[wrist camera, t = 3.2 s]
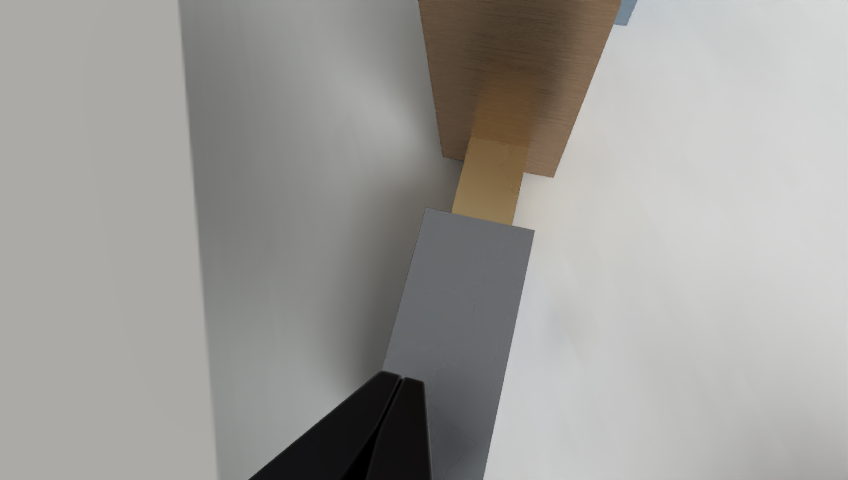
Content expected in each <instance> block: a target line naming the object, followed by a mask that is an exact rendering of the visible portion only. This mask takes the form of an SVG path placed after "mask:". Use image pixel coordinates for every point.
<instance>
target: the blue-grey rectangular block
mask: <svg viewBox="0 0 848 480" xmlns="http://www.w3.org/2000/svg"><path fill="white" fill-rule="evenodd" d="M636 2H637V0H621V5H620V8H619V11H618V13H617V16H616V18H615V21H614V23H613V24H619V25H627V23H628V21H629V18H630V16H631V14H632V11H633V9H634V7H635V5H636Z"/></svg>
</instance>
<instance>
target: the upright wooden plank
mask: <svg viewBox="0 0 848 480" xmlns="http://www.w3.org/2000/svg"><path fill="white" fill-rule="evenodd" d="M418 2H419V8H420V15H421V21H422V27H423V34H424V40H425V46H426V53H427V59H428V66H429V72H430V78H431V85H432V91H433V97H434V104H435V110H436V116H437V123H438V129H439V136H440V142H441V148H442V155H443V157H446V158H452V159H457V160H462V161H464V164H463V168H462V172H461V176H460V180H459V183H458V187H457V191H456V195H455V199H454V203H453V207H452V211H451V213H454V214H459V215H464V216H469V217H473V218H478V219H483V220H488V221H492V222H497V223H502V224H507V225H511V226H512V222H513V217H514V213H515V208H516V204H517V199H518V195H519V190H520V186H521V181H522V177H523V172H525V173H531V174H536V175H541V176H546V177H552V178H553V177H554V175H555V172H556V170H557V167H558V164H559V162H560V159H561V157H562V154H563V152H564V149H565V146H566V144H567V141H568V139H569V136H570V134H571V131H572V128H573V126H574V123H575V121H576V118H577V116H578V113H579V111H580V108H581V105H582V103H583V100H584V98H585V95H586V93H587V90H588V87H589V85H590V82H591V80H592V77H593V75H594V72H595V70H596V67H597V64H598V62H599V59H600V57H601V54H602V52H603V49H604V46H605V44H606V41H607V39H608V36H609V34H610V31H611V29H612V26H613V23H614V21H615V18H616V16H617V13H618V11H619V8H620V5H621V0H418Z"/></svg>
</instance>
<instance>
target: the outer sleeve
mask: <svg viewBox="0 0 848 480" xmlns="http://www.w3.org/2000/svg"><path fill="white" fill-rule="evenodd" d="M534 232H535V230H530V229H526V228H521V227H516V226H511V225H507V224H502V223H497V222H492V221H488V220H483V219H478V218H473V217H469V216H464V215H459V214H454V213H450V212H445V211H440V210H435V209H430V208H426V209H425V213H424V216H423V220H422V224H421V227H420V231H419V235H418V238H417V242H416V246H415V249H414V253H413V257H412V261H411V264H410V268H409V272H408V275H407V279H406V283H405V286H404V290H403V294H402V297H401V301H400V305H399V309H398V312H397V316H396V320H395V323H394V327H393V331H392V334H391V338H390V342H389V345H388V349H387V353H386V357H385V360H384V364H383V368H382V371H388V372H392V373H395V374H399V375H401V376H402V378H404V377H410V378H413V379H417V380H421V381H423V382H424V383H425V386H426V398H427V410H428V423H429V436H430V448H431V461H432V474H433V480H483V477H484V472H485V467H486V462H487V458H488V453H489V448H490V443H491V438H492V434H493V429H494V424H495V419H496V414H497V409H498V405H499V400H500V395H501V390H502V385H503V381H504V376H505V371H506V366H507V361H508V357H509V352H510V347H511V342H512V337H513V333H514V328H515V323H516V318H517V313H518V309H519V304H520V299H521V294H522V289H523V285H524V280H525V275H526V270H527V265H528V261H529V256H530V251H531V246H532V241H533V237H534Z"/></svg>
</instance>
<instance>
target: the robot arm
mask: <svg viewBox="0 0 848 480" xmlns="http://www.w3.org/2000/svg"><path fill="white" fill-rule="evenodd" d="M249 480H433V474H432V461H431V448H430V436H429V423H428V410H427V398H426V386H425V383H424V382H423V381H421V380H417V379H413V378H410V377H404V378H402V376H401V375H399V374H395V373H392V372H388V371H380V372H378V373H377V374H376V375H375V376H373V377H372V378H371V379H370V380H369V381H367V382H366V383H365V384H364V385H363V386H361V387H360V388H359V389H358V390H357V391H355V392H354V393H353V394H352V395H350V396H349V397H348V398H347V399H346V400H344V401H343V402H342V403H341V404H340V405H338V406H337V407H336V408H335V409H333V410H332V411H331V412H330V413H329V414H327V415H326V416H325V417H324V418H323V419H321V420H320V421H319V422H318V423H316V424H315V425H314V426H313V427H312V428H310V429H309V430H308V431H307V432H306V433H304V434H303V435H302V436H301V437H300V438H298V439H297V440H296V441H295V442H293V443H292V444H291V445H290V446H289V447H287V448H286V449H285V450H284V451H283V452H281V453H280V454H279V455H278V456H276V457H275V458H274V459H273V460H272V461H270V462H269V463H268V464H267V465H266V466H264V467H263V468H262V469H261V470H259V471H258V472H257V473H256V474H255V475H253V476H252V477H251V478H250V479H249Z"/></svg>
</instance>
